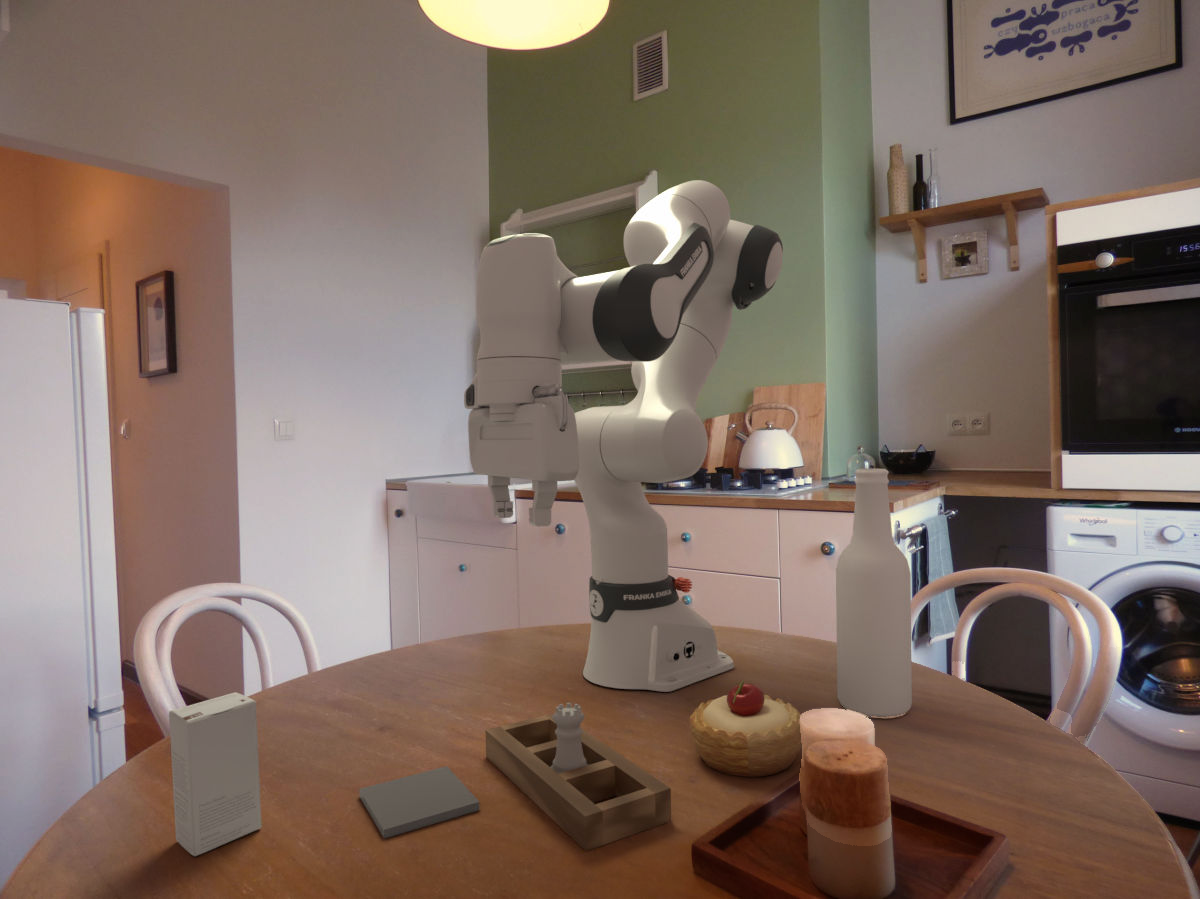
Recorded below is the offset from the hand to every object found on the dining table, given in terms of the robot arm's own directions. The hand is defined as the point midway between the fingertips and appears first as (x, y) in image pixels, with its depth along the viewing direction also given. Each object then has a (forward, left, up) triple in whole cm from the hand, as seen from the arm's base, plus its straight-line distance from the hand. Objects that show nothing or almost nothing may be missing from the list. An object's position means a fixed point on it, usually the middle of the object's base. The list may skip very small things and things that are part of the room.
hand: (520, 521), depth 79 cm
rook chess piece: (-2, +6, -27) cm, 27 cm away
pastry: (-21, +11, -27) cm, 36 cm away
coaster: (+12, +1, -26) cm, 29 cm away
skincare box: (+29, -3, -27) cm, 39 cm away
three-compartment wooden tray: (-2, +6, -26) cm, 27 cm away
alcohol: (-44, +9, -27) cm, 52 cm away
